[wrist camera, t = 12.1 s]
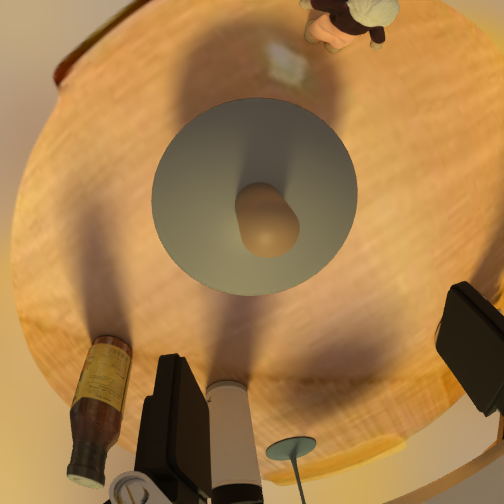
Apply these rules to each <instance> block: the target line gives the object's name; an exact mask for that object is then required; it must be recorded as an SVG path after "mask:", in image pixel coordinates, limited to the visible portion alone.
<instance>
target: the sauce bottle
mask: <svg viewBox="0 0 504 504" xmlns="http://www.w3.org/2000/svg"><path fill="white" fill-rule="evenodd" d="M131 368H132V351H131V349H130V347H129V346H128V345H127V344H125V343H124V342H123V341H122V340H120V339H118V338H115V337H112V336H101V337H98V338H97V339H96V340H94V341H93V343H92V346H91V347H90V349H89V351H88V354H87V357H86V360H85V363H84V366H83V369H82V372H81V375H80V379H79V382H78V385H77V388H76V392H75V395H74V399H73V402H72V406H71V410H70V421H71V430H72V439H73V450H72V456H71V461H70V464H69V465H68V467H67V477H68V478H69V479H70V480H71V481H73V482H75V483H77V484H79V485H82V486H85V487H88V488H93V489H102V488H104V485H105V475H104V469H105V461H106V458H107V452H108V451H109V449H110V448H111V447H112V446H113V445H114V444H115V443H116V442H117V441H118V438H119V435H120V429H121V421H122V420H123V415H124V408H125V402H126V396H127V390H128V384H129V379H130V374H131Z"/></svg>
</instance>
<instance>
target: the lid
mask: <svg viewBox="0 0 504 504" xmlns="http://www.w3.org/2000/svg"><path fill="white" fill-rule="evenodd" d="M357 190H358V189H357V180H356V174H355V170H354V166H353V163H352V160H351V158H350V156H349V153H348V151H347V149H346V148H345V146H344V144H343V142H342V141H341V140H340V138H339V137H338V136H337V134H336V133H335V132H334V131H333V130H332V129H331V128H330V127H329V126H328V125H327V124H326V123H325V122H324V121H323V120H322V119H320V118H319V117H317V116H316V115H315V114H313V113H312V112H310V111H308V110H306V109H304V108H302V107H300V106H297V105H295V104H292V103H289V102H286V101H281V100H276V99H271V98H247V99H239V100H235V101H231V102H226V103H224V104H221V105H219V106H216V107H213V108H211V109H209V110H208V111H206V112H204V113H202V114H200V115H199V116H197V117H196V118H195V119H193V120H192V121H191V122H189V123H188V124H187V125H186V126H185V127H184V128H183V129H182V130H181V131H180V132H179V133H178V134H177V135H176V136H175V137H174V139H173V140H172V141H171V143H170V144H169V146H168V147H167V149H166V150H165V152H164V154H163V156H162V158H161V160H160V162H159V165H158V168H157V170H156V173H155V177H154V182H153V187H152V200H151V202H152V215H153V219H154V224H155V228H156V231H157V233H158V236H159V239H160V241H161V243H162V244H163V246H164V248H165V250H166V251H167V253H168V254H169V256H170V257H171V258H172V260H173V261H174V262H175V263H176V264H177V265H178V266H179V267H180V268H181V269H182V270H183V271H184V272H185V273H187V274H188V275H189V276H190V277H192V278H193V279H195V280H196V281H198V282H200V283H201V284H203V285H205V286H208V287H210V288H212V289H215V290H218V291H221V292H224V293H229V294H234V295H244V296H258V295H267V294H273V293H277V292H281V291H284V290H287V289H290V288H292V287H295V286H297V285H299V284H301V283H303V282H305V281H306V280H308V279H309V278H311V277H312V276H314V275H315V274H317V273H318V272H319V271H320V270H322V269H323V268H324V267H325V266H326V265H327V264H328V263H329V262H330V261H331V260H332V259H333V258H334V256H335V255H336V254H337V252H338V251H339V250H340V248H341V247H342V245H343V243H344V242H345V240H346V238H347V236H348V234H349V232H350V229H351V227H352V224H353V221H354V217H355V213H356V207H357Z"/></svg>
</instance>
